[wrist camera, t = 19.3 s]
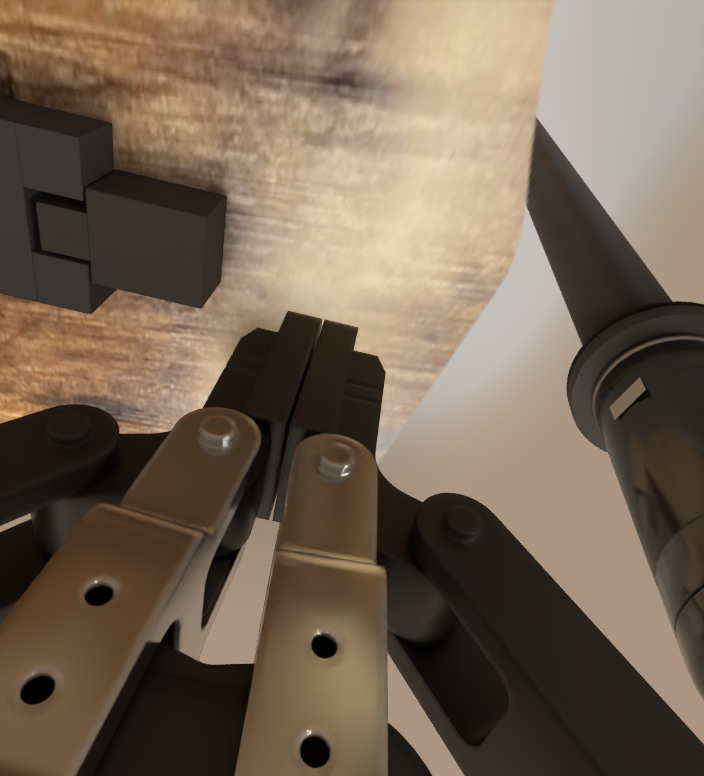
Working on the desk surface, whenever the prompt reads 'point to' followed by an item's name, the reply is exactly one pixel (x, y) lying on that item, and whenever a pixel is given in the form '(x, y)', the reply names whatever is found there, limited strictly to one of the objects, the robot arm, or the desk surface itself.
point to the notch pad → (37, 180)
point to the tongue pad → (141, 236)
